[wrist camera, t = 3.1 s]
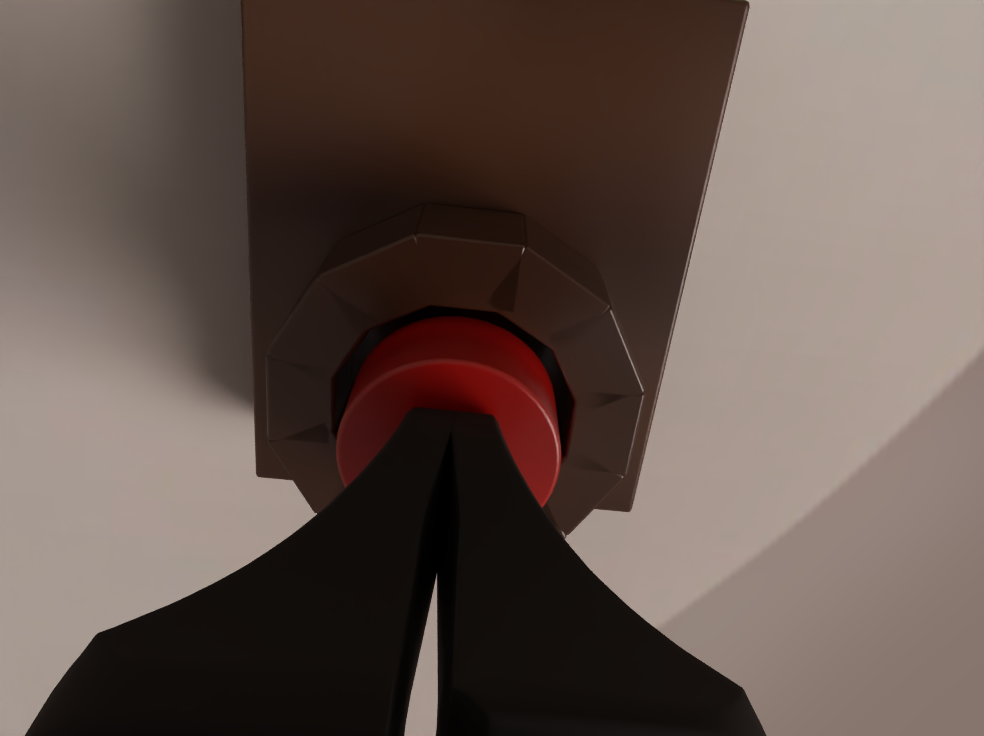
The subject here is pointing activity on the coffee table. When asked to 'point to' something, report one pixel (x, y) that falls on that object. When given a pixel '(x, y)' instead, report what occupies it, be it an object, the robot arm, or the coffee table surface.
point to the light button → (454, 393)
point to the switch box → (477, 205)
